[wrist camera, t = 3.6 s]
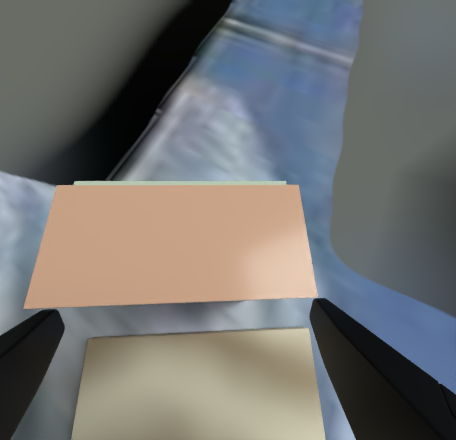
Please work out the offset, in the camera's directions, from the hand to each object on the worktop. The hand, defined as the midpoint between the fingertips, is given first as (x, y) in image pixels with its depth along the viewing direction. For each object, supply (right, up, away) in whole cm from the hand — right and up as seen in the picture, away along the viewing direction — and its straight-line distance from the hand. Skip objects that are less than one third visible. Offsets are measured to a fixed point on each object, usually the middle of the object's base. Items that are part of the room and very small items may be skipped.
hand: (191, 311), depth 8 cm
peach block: (-1, -2, +9) cm, 9 cm away
